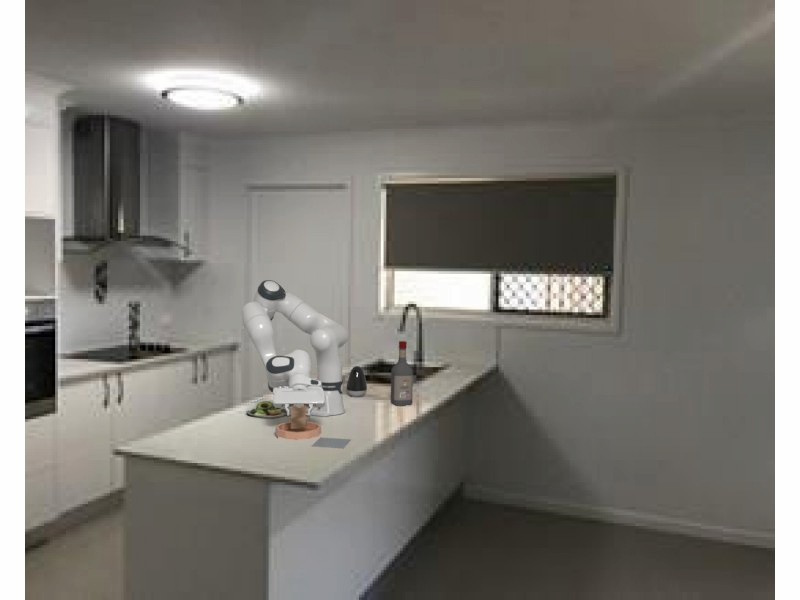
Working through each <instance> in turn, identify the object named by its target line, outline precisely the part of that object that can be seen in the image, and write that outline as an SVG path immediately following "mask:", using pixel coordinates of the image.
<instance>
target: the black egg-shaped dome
mask: <svg viewBox="0 0 800 600" xmlns="http://www.w3.org/2000/svg"><path fill="white" fill-rule="evenodd" d="M367 390H368V384H367V380H366V375H365V372H364V370H363V368H362V367H360V366H358V365H356V366H353V367H352V368H351V369H350V372H349V373H348V378H347V383H346V391H347V393H348V395H349V396H350V397H352V396H353V397H352V398H361V397H363V396H365V394H366V392H367Z"/></svg>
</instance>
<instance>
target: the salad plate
mask: <svg viewBox="0 0 800 600" xmlns="http://www.w3.org/2000/svg"><path fill="white" fill-rule="evenodd" d="M245 413H246V415H247V416H248V417H252V418H258V419H269V420H270V419H273V420H274V419H280V418H282V417H285V416H287V412H286V410H285V408H275V407H274V406H273V401H272V402H271V401H268V400H265V401H260V402H258V403H257V404H256V408H252V409H249V410H247V411H246V412H245Z"/></svg>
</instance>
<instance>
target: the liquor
mask: <svg viewBox="0 0 800 600" xmlns="http://www.w3.org/2000/svg"><path fill="white" fill-rule="evenodd" d="M390 373H391V374H390V403H391V404H392V405H393V406H394V405H395V407H407V406H406V405H410V406H412V405H413V394H414V393H413V391H414V390H413V388H414V385H413V384H414V383H413V382H414V371H413V368H412V367H411V366H410V364H409V363H408V362H407V341H406V340H400V341H398V361H397V362H396V363H395V365H393V366H392V368H391V371H390Z"/></svg>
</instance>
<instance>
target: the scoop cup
mask: <svg viewBox="0 0 800 600" xmlns="http://www.w3.org/2000/svg"><path fill="white" fill-rule="evenodd" d="M290 411H291V417H290V422H291V429H306V422H307V417H306V405H304V404H303V403H299V404H298V403H295V404H294V405H292V406H291V408H290Z"/></svg>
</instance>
